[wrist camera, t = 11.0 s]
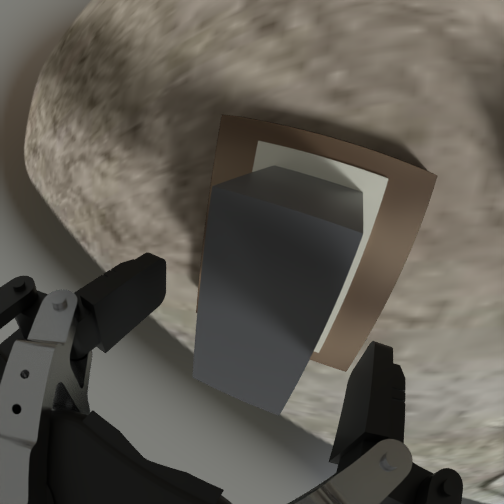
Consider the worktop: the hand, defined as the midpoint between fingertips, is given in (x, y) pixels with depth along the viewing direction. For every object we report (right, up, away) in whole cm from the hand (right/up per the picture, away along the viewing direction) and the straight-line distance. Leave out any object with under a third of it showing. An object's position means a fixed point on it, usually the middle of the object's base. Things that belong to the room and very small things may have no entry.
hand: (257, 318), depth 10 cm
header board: (+3, +3, +7) cm, 8 cm away
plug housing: (+2, +2, +5) cm, 6 cm away
